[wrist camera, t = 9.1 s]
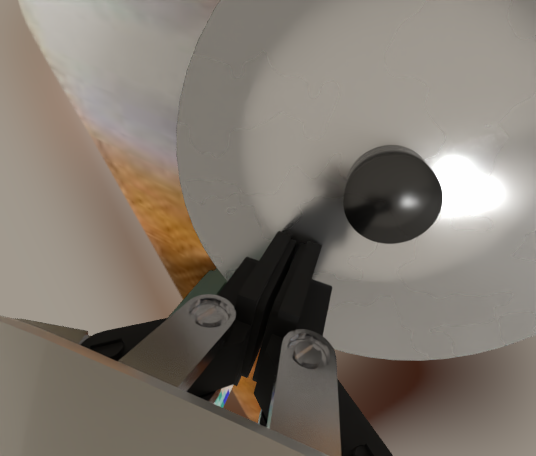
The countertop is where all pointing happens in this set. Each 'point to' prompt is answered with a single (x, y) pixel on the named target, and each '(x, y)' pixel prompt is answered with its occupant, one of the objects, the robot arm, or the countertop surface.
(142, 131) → the countertop surface
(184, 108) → the lid
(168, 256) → the countertop surface
